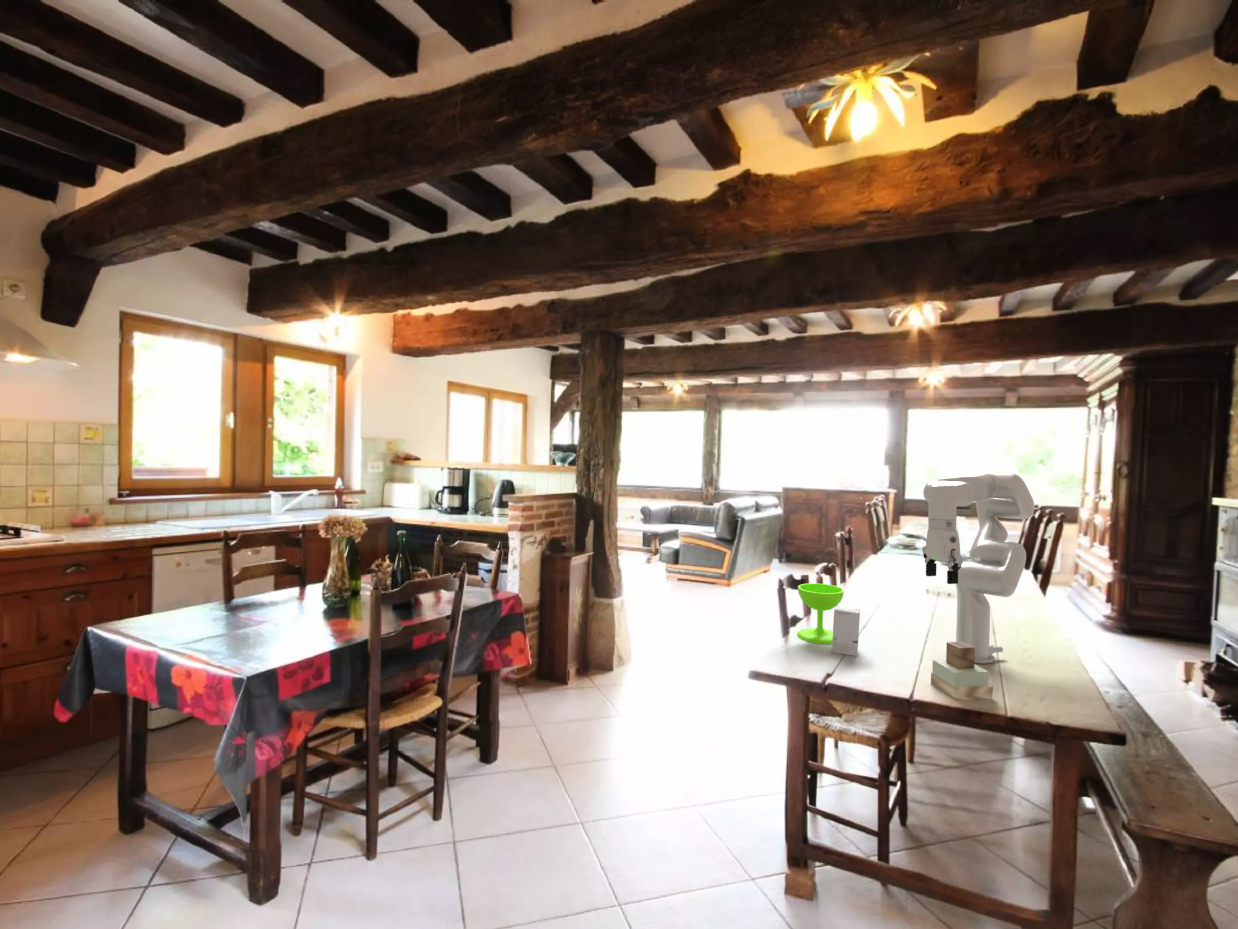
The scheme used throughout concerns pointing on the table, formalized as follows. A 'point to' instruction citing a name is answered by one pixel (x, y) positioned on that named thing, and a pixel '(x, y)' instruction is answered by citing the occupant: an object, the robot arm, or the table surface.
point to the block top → (960, 674)
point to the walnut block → (960, 655)
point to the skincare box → (845, 630)
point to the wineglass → (819, 609)
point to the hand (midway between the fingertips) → (941, 579)
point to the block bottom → (962, 690)
